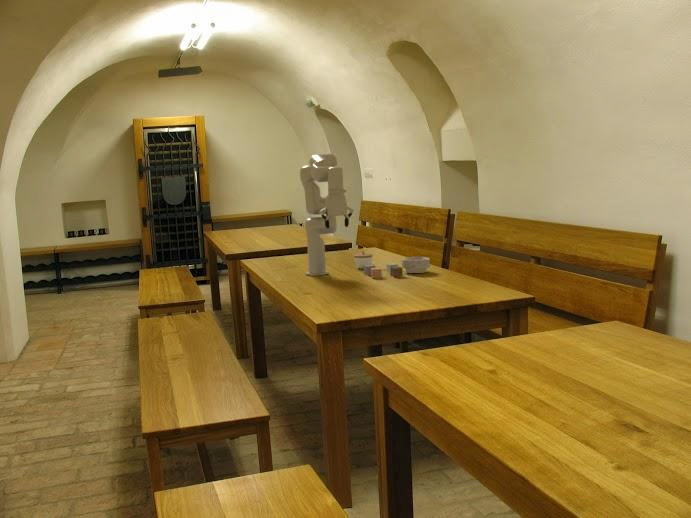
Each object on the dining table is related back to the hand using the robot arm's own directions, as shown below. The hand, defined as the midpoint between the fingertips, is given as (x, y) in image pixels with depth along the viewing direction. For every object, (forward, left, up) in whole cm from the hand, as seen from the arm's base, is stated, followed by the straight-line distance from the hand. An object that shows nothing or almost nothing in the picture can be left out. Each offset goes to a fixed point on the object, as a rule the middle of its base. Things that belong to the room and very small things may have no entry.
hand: (337, 227), depth 348 cm
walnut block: (-19, +35, -30) cm, 50 cm away
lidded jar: (-53, +25, -31) cm, 66 cm away
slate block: (-31, +23, -30) cm, 49 cm away
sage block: (-31, +36, -30) cm, 57 cm away
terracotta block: (-20, +24, -30) cm, 44 cm away
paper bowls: (-27, +49, -31) cm, 63 cm away
